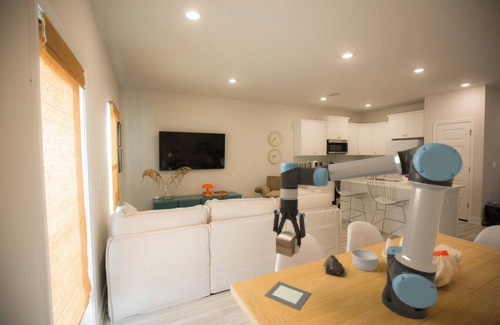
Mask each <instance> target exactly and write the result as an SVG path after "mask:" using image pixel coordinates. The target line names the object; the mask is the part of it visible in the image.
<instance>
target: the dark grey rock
mask: <svg viewBox="0 0 500 325" xmlns="http://www.w3.org/2000/svg"><path fill="white" fill-rule="evenodd" d="M323 266H324V267H325V270H324V271H325V274H326V275H337V276H339V277H342V276H344V275H345V271H346V270H345V267H344V266H343V264H342V263H341V262H340V261H339V259H338V258H337V257H336V256H334V255H333V254H330V255H329V256H328V257H327V259H326V260H325V261H324V263H323Z"/></svg>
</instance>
